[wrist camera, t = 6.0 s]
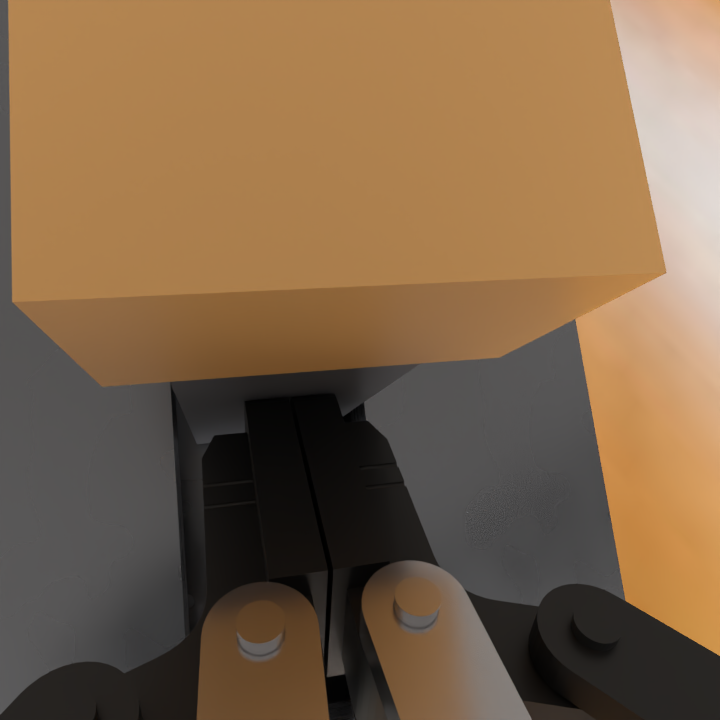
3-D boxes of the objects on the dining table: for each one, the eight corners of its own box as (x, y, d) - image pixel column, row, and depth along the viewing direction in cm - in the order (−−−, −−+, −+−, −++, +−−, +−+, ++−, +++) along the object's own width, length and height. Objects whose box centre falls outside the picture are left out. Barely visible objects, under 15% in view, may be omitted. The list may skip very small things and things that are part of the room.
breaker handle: (165, 319, 17) (5, -201, 4) (328, 310, 18) (579, -138, 5) (173, 454, 17) (12, 301, 4) (341, 438, 18) (666, 272, 5)
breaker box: (-15, 23, 20) (-118, -184, 14) (428, 41, 23) (501, -120, 17) (-10, 933, 15) (-159, 1213, 9) (539, 801, 18) (692, 948, 12)
